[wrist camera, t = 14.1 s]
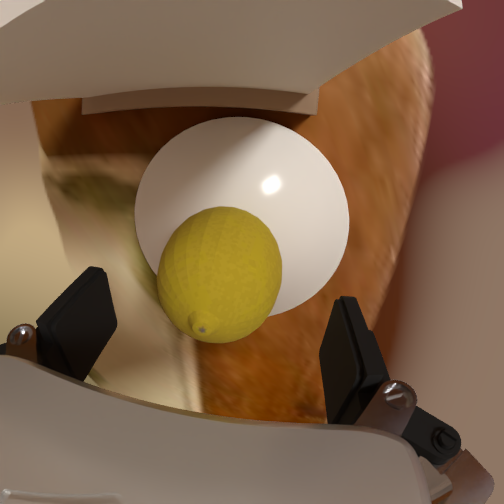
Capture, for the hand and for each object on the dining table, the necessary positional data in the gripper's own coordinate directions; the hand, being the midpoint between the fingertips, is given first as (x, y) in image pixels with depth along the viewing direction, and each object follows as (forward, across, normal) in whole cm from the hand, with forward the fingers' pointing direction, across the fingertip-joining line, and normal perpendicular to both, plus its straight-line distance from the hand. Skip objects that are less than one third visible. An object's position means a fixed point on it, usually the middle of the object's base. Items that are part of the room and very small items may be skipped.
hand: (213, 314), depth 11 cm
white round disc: (+8, 0, -1) cm, 8 cm away
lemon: (+7, 0, -1) cm, 7 cm away
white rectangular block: (+7, +3, -10) cm, 13 cm away
